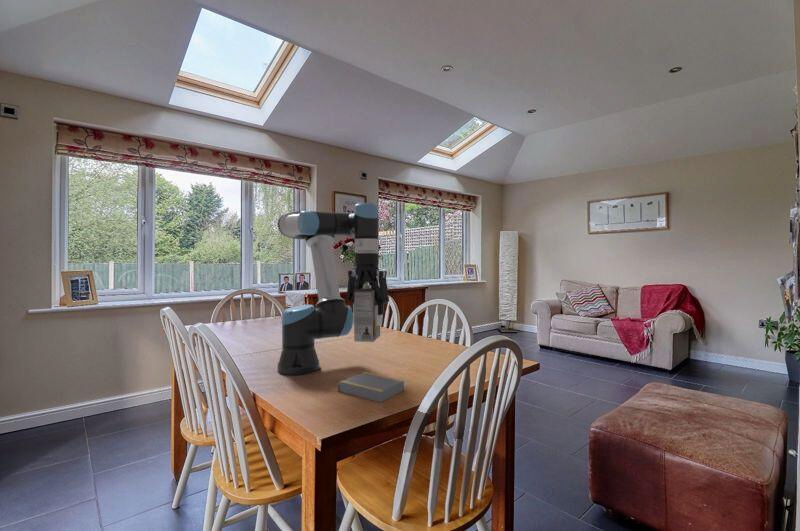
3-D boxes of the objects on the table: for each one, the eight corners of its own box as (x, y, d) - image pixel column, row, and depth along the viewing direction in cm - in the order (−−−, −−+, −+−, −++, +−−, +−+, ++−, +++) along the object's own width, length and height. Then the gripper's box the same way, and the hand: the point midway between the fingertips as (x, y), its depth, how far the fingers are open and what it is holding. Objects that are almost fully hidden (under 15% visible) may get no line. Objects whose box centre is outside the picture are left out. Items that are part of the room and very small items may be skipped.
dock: (337, 390, 120) (337, 381, 120) (362, 380, 130) (362, 371, 130) (381, 402, 110) (381, 391, 110) (404, 390, 120) (404, 380, 120)
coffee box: (362, 335, 127) (361, 287, 127) (380, 336, 126) (380, 287, 126) (353, 341, 118) (353, 289, 118) (373, 342, 117) (373, 289, 117)
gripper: (334, 253, 124) (334, 323, 124) (387, 251, 113) (387, 328, 113) (349, 253, 130) (349, 319, 131) (400, 252, 119) (401, 325, 120)
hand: (367, 324), depth 122 cm, fingers closed on coffee box, 8 cm apart
